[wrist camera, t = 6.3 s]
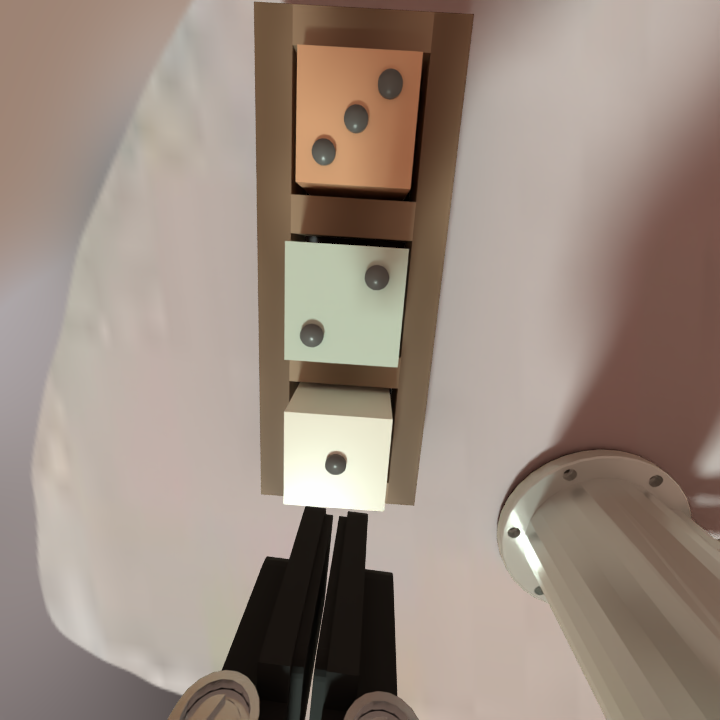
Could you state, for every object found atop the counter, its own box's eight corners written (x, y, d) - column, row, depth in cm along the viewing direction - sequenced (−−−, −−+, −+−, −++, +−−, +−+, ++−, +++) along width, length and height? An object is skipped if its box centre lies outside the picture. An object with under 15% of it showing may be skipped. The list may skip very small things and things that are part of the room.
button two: (400, 248, 20) (409, 248, 15) (391, 340, 21) (398, 368, 16) (305, 242, 20) (283, 240, 15) (304, 334, 21) (283, 360, 16)
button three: (410, 99, 20) (423, 49, 15) (401, 202, 21) (410, 188, 16) (315, 94, 20) (296, 41, 15) (313, 197, 21) (294, 181, 16)
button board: (453, 61, 19) (473, 14, 15) (408, 467, 26) (413, 505, 22) (277, 51, 19) (253, 1, 15) (277, 458, 26) (261, 494, 22)
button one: (388, 382, 22) (392, 421, 17) (381, 457, 23) (384, 514, 18) (303, 376, 22) (283, 413, 17) (301, 452, 23) (282, 506, 18)
